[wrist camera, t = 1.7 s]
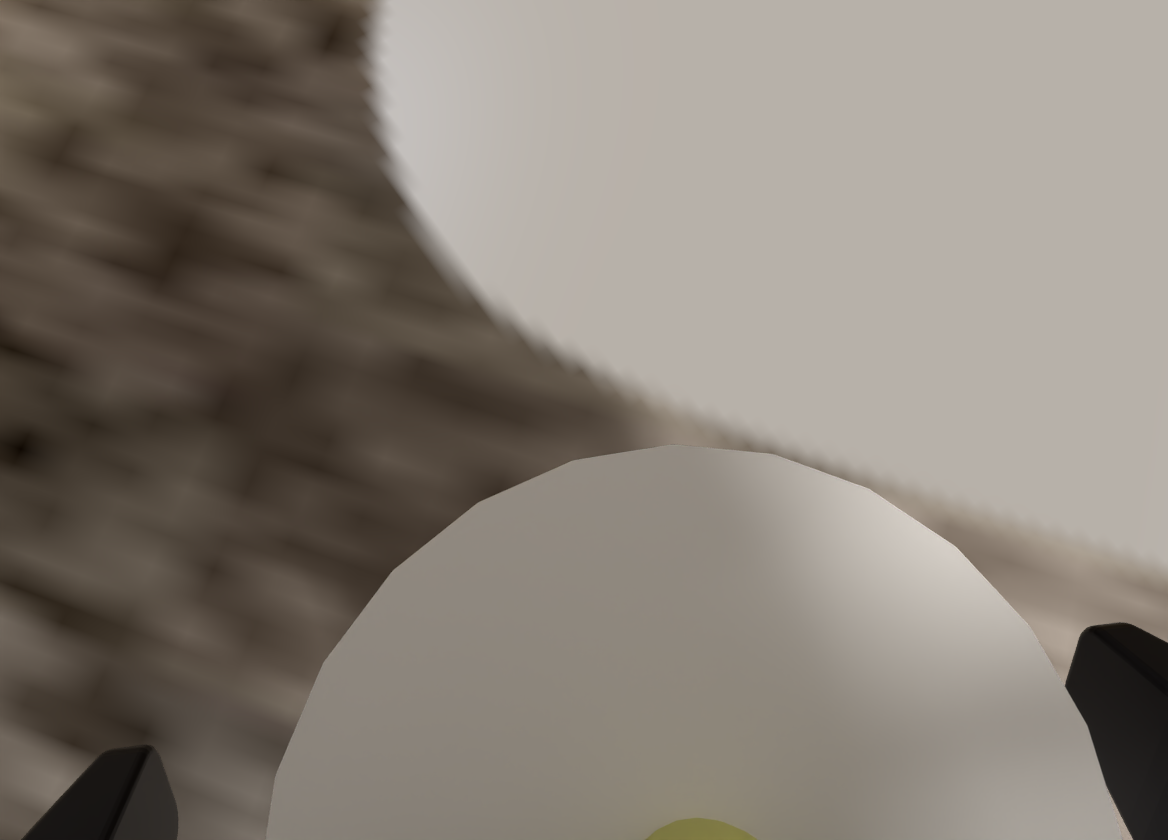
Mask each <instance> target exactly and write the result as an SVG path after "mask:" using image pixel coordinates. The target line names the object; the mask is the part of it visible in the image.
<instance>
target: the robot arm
mask: <svg viewBox="0 0 1168 840" xmlns="http://www.w3.org/2000/svg"><path fill="white" fill-rule="evenodd" d="M1065 688H1066V689H1067V691H1068V693H1069V695H1070V696H1071V698H1072V700H1073V702H1074V703H1075V705H1076V707H1077V709H1078V710H1079V712H1080V714H1081V715H1082V717H1083V719H1084V721H1085V722H1086V724H1087V726H1088V729H1089V732H1090V736H1091V739H1092V742H1093V745H1094V748H1095V752H1096V755H1097V758H1098V761H1099V765H1100V768H1101V771H1102V774H1103V777H1104V781H1105V784H1106V786H1107V788H1108V790H1109V792H1110V794H1111V796H1112V798H1113V800H1114V802H1115V804H1116V807H1117V809H1118V811H1119V813H1120V815H1121V817H1122V819H1123V821H1124V823H1125V825H1126V827H1127V829H1128V830H1129V832H1130V834H1131V836H1132V838H1133V840H1168V643H1167V642H1165V641H1163V640H1161V639H1159V638H1158V637H1156V636H1154V635H1152V634H1150V633H1148V632H1146V631H1144V630H1142V629H1140V628H1138V627H1136V626H1134V625H1132V624H1128V623H1121V622H1119V623H1111V624H1103V625H1095V626H1090V627H1087V628H1086V629H1085V630H1084V631H1083V632H1082V633H1081V635H1080V637H1079V640H1078V644H1077V647H1076V650H1075V653H1074V657H1073V660H1072V663H1071V666H1070V670H1069V673H1068V676H1067V680H1066V684H1065ZM177 834H178V810H177V805H176V801H175V798H174V795H173V793H172V790H171V787H170V784H169V781H168V778H167V775H166V772H165V769H164V767H163V764H162V761H161V758H160V755H159V753H158V751H157V750H156V749H155V748H154V747H153V746H151V745H139V746H131V747H123V748H115V749H110V750H107V751H105V752H104V753H102V754H101V755H100V756H99V757H98V758H96V760H95V761H94V762H93V763H92V764H91V765H90V766H89V767H88V768H87V769H86V770H85V771H84V772H83V774H82V775H81V776H80V777H79V778H78V779H77V780H76V781H75V782H74V783H73V784H72V785H71V786H70V787H69V789H68V790H67V791H66V792H65V793H64V794H63V795H62V796H61V797H60V798H59V799H58V800H57V801H56V803H55V804H54V805H53V806H52V807H51V808H50V809H49V810H48V811H47V812H46V813H45V814H44V815H43V816H42V818H41V819H40V820H39V821H38V822H37V823H36V824H35V825H34V826H33V827H32V828H31V829H30V830H29V831H28V833H27V834H26V835H25V836H24V837H23V838H22V839H21V840H177Z"/></svg>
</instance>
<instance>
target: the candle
mask: <svg viewBox="0 0 1168 840" xmlns="http://www.w3.org/2000/svg"><path fill="white" fill-rule="evenodd" d="M265 840H1123V838H1122V835H1121V832H1120V829H1119V826H1118V822H1117V819H1116V816H1115V813H1114V809H1113V806H1112V803H1111V800H1110V797H1109V793H1108V790H1107V787H1106V784H1105V781H1104V777H1103V774H1102V771H1101V768H1100V765H1099V761H1098V758H1097V755H1096V752H1095V748H1094V745H1093V742H1092V739H1091V736H1090V732H1089V729H1088V726H1087V724H1086V722H1085V721H1084V719H1083V717H1082V715H1081V714H1080V712H1079V710H1078V709H1077V707H1076V705H1075V703H1074V702H1073V700H1072V698H1071V696H1070V695H1069V693H1068V691H1067V689H1066V688H1065V686H1064V684H1063V683H1062V681H1061V679H1060V677H1059V676H1058V674H1057V672H1056V670H1055V669H1054V667H1053V665H1052V663H1051V662H1050V660H1049V658H1048V657H1047V655H1046V653H1045V651H1044V650H1043V648H1042V646H1041V644H1040V643H1039V641H1038V639H1037V637H1036V636H1035V634H1034V632H1033V631H1032V629H1031V627H1030V626H1029V625H1028V624H1027V623H1026V622H1025V621H1024V620H1023V618H1022V617H1021V616H1020V615H1019V614H1018V613H1017V612H1016V611H1015V610H1014V609H1013V608H1012V607H1011V606H1010V604H1009V603H1008V602H1007V601H1006V600H1005V599H1004V598H1003V597H1002V596H1001V595H1000V594H999V593H998V592H997V590H996V589H995V588H994V587H993V586H992V585H991V584H990V583H989V582H988V581H987V580H986V579H985V578H984V576H983V575H982V574H981V573H980V572H979V571H978V570H977V569H976V568H975V567H974V566H973V565H972V564H971V562H970V561H969V560H968V559H967V558H966V557H965V556H964V555H963V554H962V553H961V552H960V551H959V550H958V548H957V547H955V546H954V545H952V544H951V543H949V542H948V541H946V540H945V539H943V538H942V537H940V536H939V535H937V534H936V533H934V532H933V531H931V530H930V529H928V528H927V527H925V526H924V525H922V524H921V523H919V522H918V521H917V520H915V519H914V518H912V517H911V516H909V515H908V514H906V513H905V512H903V511H902V510H900V509H899V508H897V507H896V506H894V505H893V504H891V503H890V502H888V501H887V500H885V499H884V498H882V497H881V496H879V495H878V494H876V493H875V492H873V491H872V490H870V489H868V488H866V487H863V486H860V485H857V484H855V483H852V482H849V481H846V480H844V479H841V478H838V477H835V476H833V475H830V474H827V473H824V472H822V471H819V470H816V469H813V468H811V467H808V466H805V465H802V464H799V463H797V462H794V461H791V460H788V459H786V458H783V457H780V456H777V455H775V454H768V453H758V452H748V451H738V450H727V449H717V448H707V447H697V446H686V445H676V444H671V445H665V446H659V447H653V448H646V449H640V450H634V451H628V452H621V453H615V454H609V455H603V456H597V457H590V458H584V459H578V460H573V461H570V462H568V463H566V464H564V465H561V466H559V467H557V468H555V469H552V470H550V471H548V472H546V473H543V474H541V475H539V476H537V477H534V478H532V479H530V480H528V481H525V482H523V483H521V484H519V485H516V486H514V487H512V488H510V489H507V490H505V491H503V492H501V493H498V494H496V495H494V496H492V497H489V498H487V499H485V500H483V501H480V502H478V503H477V504H475V505H474V506H473V507H472V508H470V509H469V510H468V511H467V512H465V513H464V514H463V515H462V516H460V517H459V518H458V519H457V520H455V521H454V522H453V523H452V524H450V525H449V526H448V527H447V528H445V529H444V530H443V531H442V532H440V533H439V534H438V535H437V536H435V537H434V538H433V539H432V540H430V541H429V542H428V543H427V544H425V545H424V546H423V547H422V548H420V549H419V550H418V551H417V552H415V553H414V554H413V555H412V556H410V557H409V558H408V559H407V560H405V561H404V562H403V563H402V564H400V565H399V566H398V567H397V568H395V569H394V570H393V571H392V572H391V574H390V575H389V576H388V577H387V579H386V580H385V581H384V583H383V584H382V585H381V587H380V588H379V589H378V591H377V592H376V593H375V595H374V596H373V597H372V599H371V600H370V601H369V603H368V604H367V605H366V607H365V608H364V609H363V611H362V612H361V613H360V615H359V616H358V617H357V619H356V620H355V621H354V623H353V624H352V625H351V627H350V628H349V629H348V631H347V632H346V633H345V635H344V636H343V637H342V639H341V640H340V641H339V642H338V644H337V645H336V646H335V648H334V649H333V650H332V652H331V653H330V654H329V656H328V657H327V658H326V660H325V661H324V662H323V665H322V667H321V669H320V672H319V674H318V676H317V679H316V681H315V683H314V686H313V688H312V690H311V693H310V695H309V698H308V700H307V702H306V705H305V707H304V709H303V712H302V714H301V716H300V719H299V721H298V723H297V726H296V728H295V731H294V733H293V735H292V738H291V740H290V742H289V745H288V747H287V749H286V752H285V754H284V757H283V759H282V761H281V764H280V766H279V768H278V771H277V773H276V775H275V782H274V788H273V794H272V800H271V807H270V813H269V819H268V825H267V832H266V838H265Z"/></svg>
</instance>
